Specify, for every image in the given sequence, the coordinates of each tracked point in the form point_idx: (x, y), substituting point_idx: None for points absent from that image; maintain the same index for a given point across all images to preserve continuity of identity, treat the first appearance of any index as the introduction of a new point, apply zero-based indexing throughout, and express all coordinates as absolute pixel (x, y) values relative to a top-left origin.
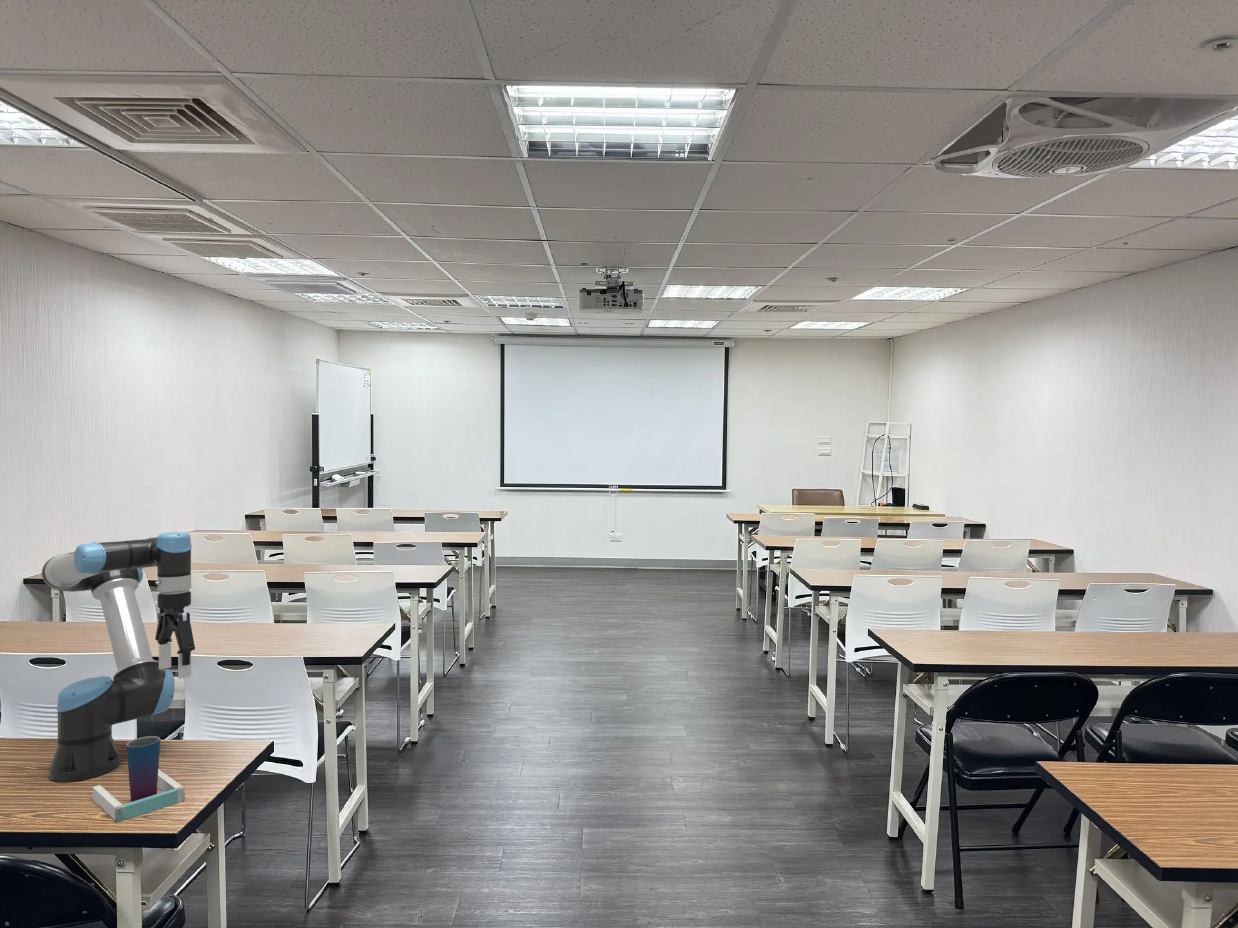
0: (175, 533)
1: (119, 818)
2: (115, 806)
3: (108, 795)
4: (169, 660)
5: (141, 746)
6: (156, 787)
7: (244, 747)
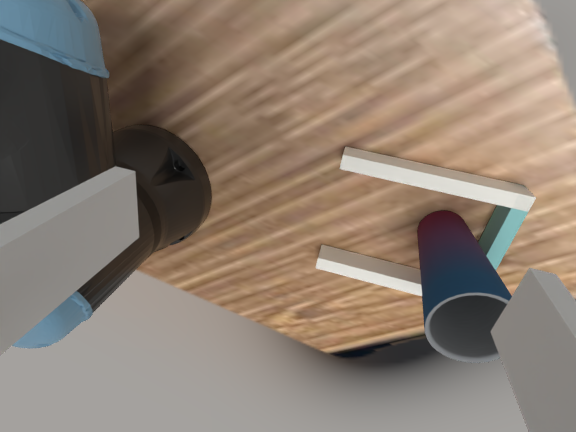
0: None
1: None
2: None
3: (389, 280)
4: (98, 204)
5: None
6: (472, 234)
7: None
